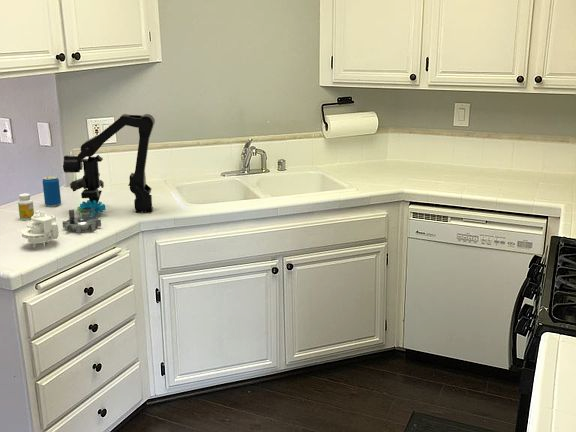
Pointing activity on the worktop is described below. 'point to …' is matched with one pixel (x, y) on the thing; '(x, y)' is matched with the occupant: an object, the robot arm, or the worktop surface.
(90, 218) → the sprocket
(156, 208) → the worktop surface
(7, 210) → the worktop surface
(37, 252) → the worktop surface
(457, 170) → the worktop surface
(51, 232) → the mechanical part
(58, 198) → the beverage can
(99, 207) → the gear
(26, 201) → the supplement bottle
